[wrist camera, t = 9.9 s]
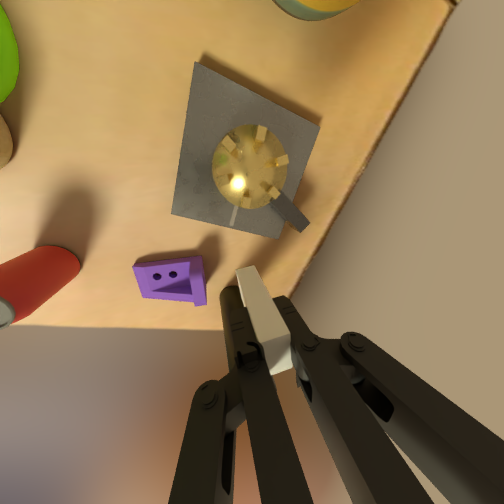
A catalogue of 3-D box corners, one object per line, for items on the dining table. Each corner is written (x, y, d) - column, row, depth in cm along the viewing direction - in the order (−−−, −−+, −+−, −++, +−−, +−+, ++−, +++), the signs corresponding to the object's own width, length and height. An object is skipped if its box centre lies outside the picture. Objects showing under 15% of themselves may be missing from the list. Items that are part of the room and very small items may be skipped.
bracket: (201, 254, 36) (201, 271, 30) (206, 283, 39) (206, 304, 33) (135, 262, 33) (119, 283, 27) (145, 292, 36) (133, 317, 30)
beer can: (64, 238, 29) (-17, 278, 18) (91, 271, 32) (35, 322, 21) (19, 251, 28) (-92, 301, 17) (51, 284, 31) (-28, 343, 20)
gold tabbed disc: (196, 172, 27) (195, 172, 23) (244, 110, 26) (252, 99, 22) (276, 243, 36) (286, 252, 32) (316, 200, 34) (331, 204, 30)
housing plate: (195, 69, 24) (194, 60, 23) (313, 129, 31) (321, 126, 29) (172, 211, 31) (170, 214, 29) (274, 236, 38) (278, 239, 36)
